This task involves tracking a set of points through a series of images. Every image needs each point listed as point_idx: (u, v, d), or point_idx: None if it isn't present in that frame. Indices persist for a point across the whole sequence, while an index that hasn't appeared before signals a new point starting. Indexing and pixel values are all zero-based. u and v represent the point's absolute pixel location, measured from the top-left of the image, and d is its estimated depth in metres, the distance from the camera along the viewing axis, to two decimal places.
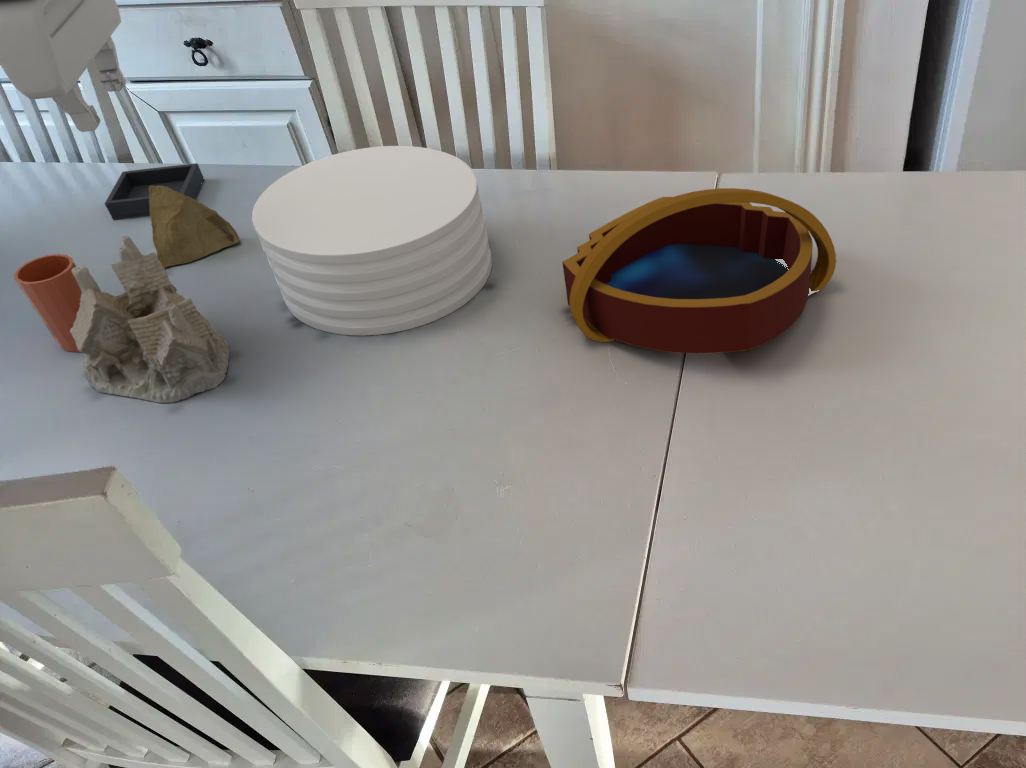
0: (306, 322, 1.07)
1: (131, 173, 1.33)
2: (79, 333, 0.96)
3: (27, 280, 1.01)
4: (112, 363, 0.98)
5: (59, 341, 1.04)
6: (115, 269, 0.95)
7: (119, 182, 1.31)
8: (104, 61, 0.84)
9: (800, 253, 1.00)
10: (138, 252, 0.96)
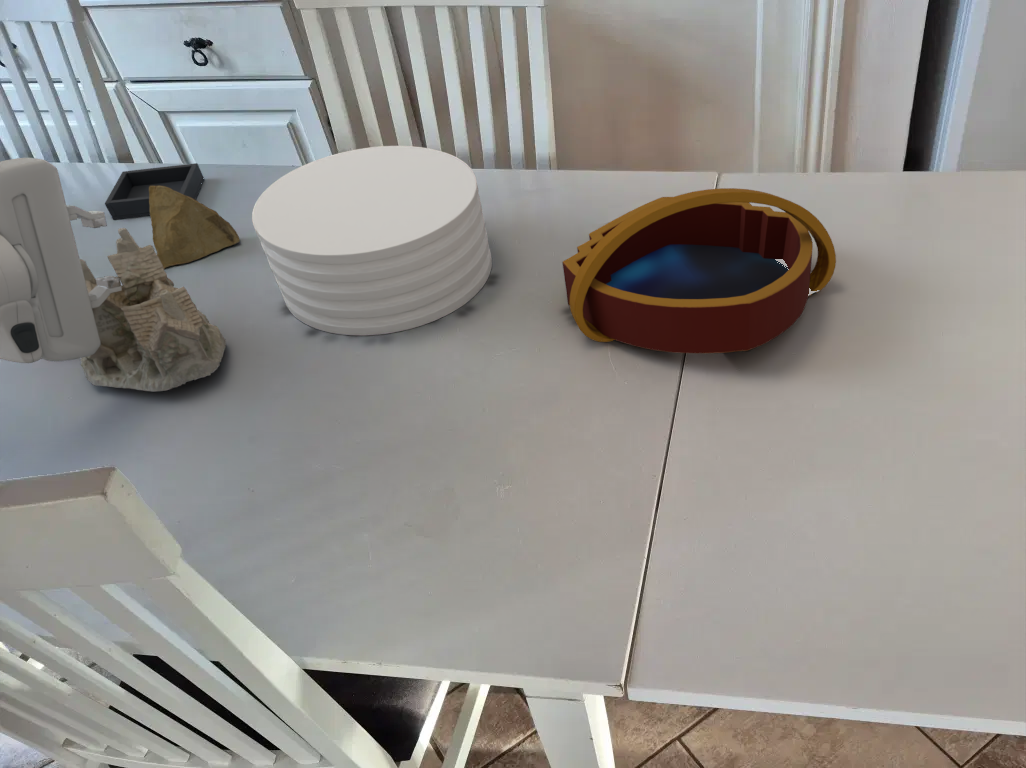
0: (306, 322, 1.07)
1: (131, 173, 1.33)
2: None
3: None
4: (107, 355, 0.97)
5: None
6: (111, 260, 0.96)
7: (119, 182, 1.31)
8: (78, 216, 0.89)
9: (800, 253, 1.00)
10: (134, 244, 0.97)
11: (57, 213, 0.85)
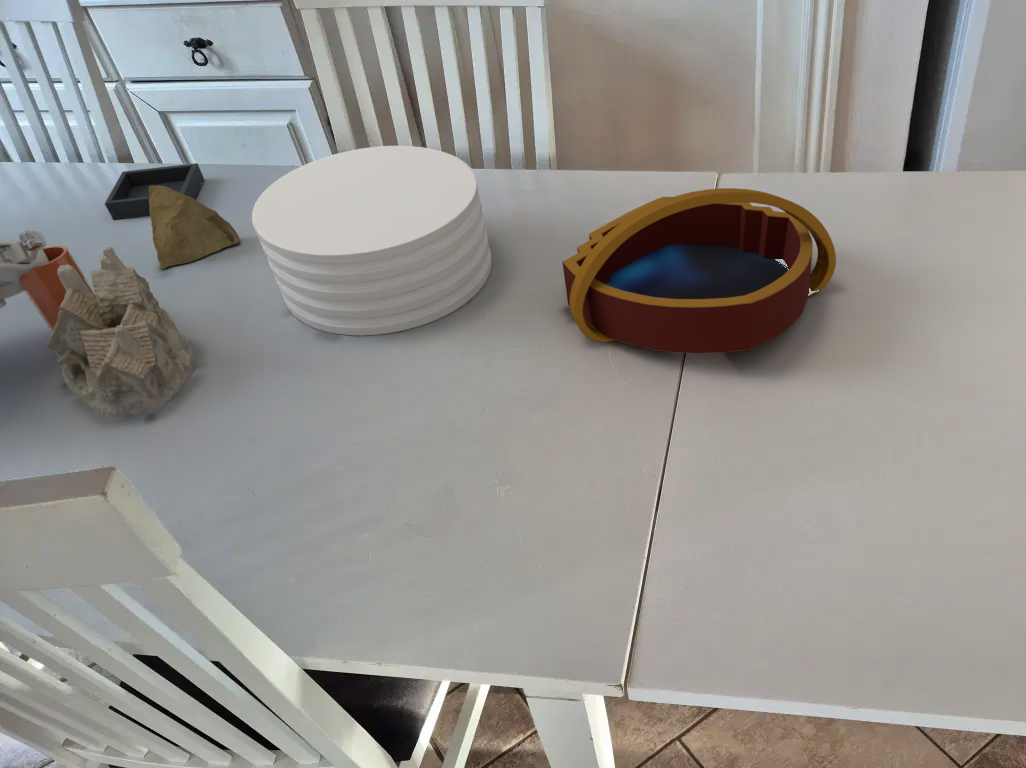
0: (306, 322, 1.07)
1: (131, 173, 1.33)
2: (54, 328, 0.98)
3: None
4: (76, 363, 0.98)
5: None
6: (92, 276, 0.95)
7: (119, 182, 1.31)
8: None
9: (800, 253, 1.00)
10: (116, 264, 0.95)
11: None
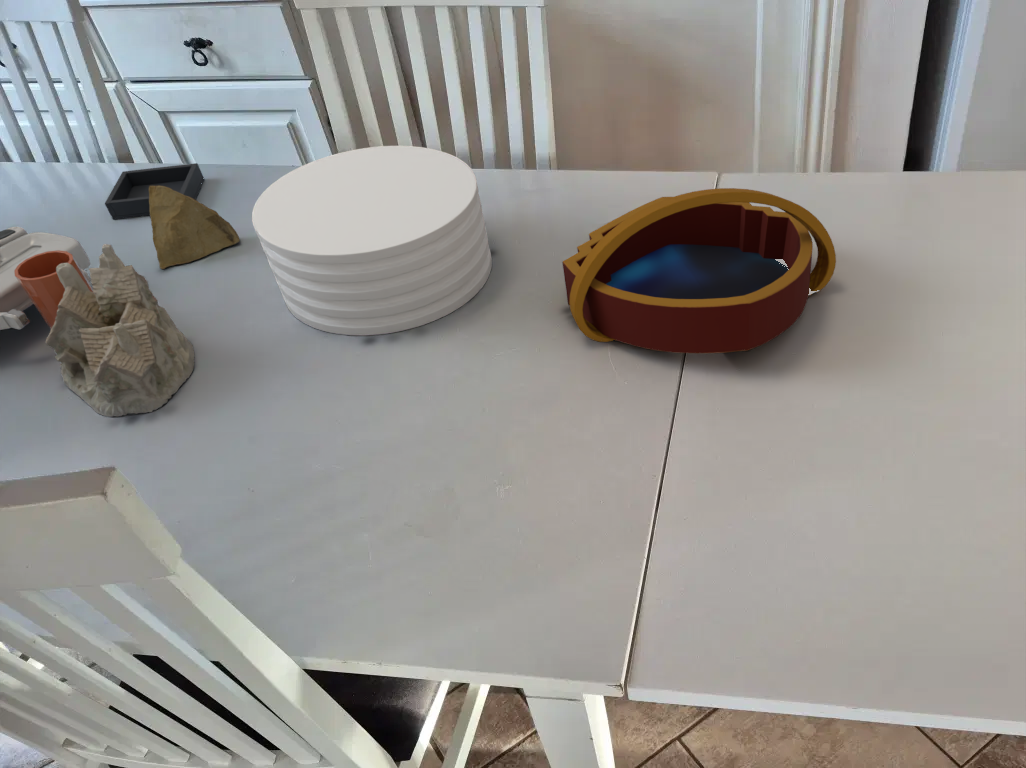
0: (306, 322, 1.07)
1: (131, 173, 1.33)
2: None
3: (27, 276, 1.02)
4: (75, 361, 0.98)
5: None
6: (91, 274, 0.95)
7: (119, 182, 1.31)
8: None
9: (800, 253, 1.00)
10: (115, 262, 0.95)
11: None
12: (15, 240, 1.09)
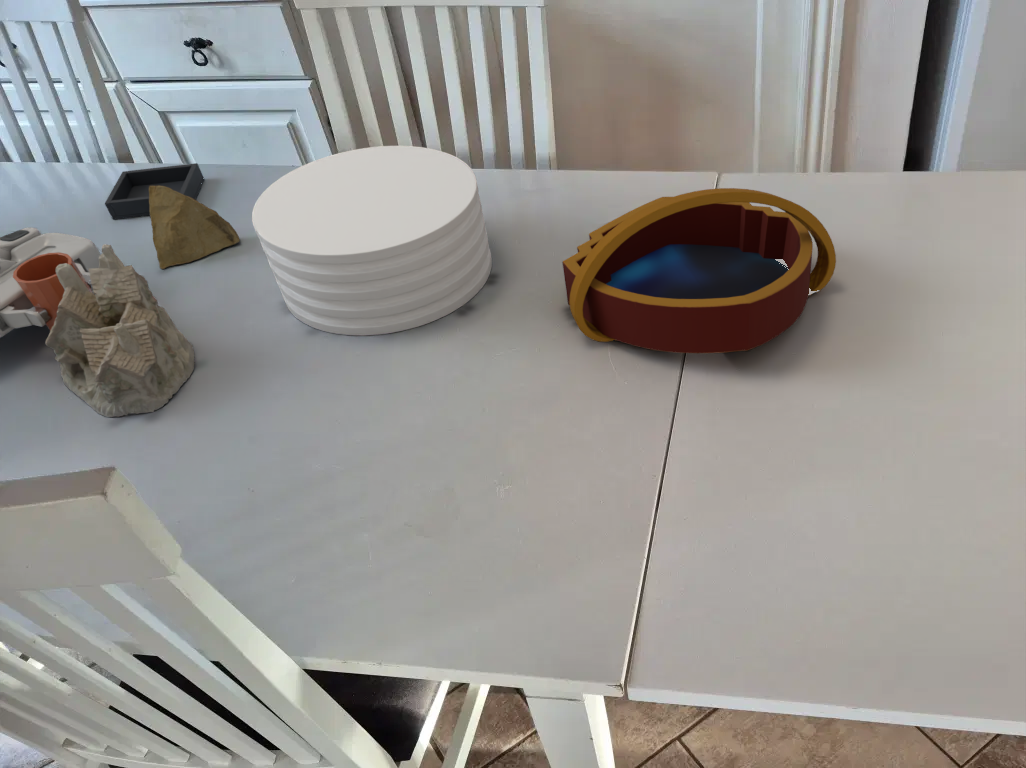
0: (306, 322, 1.07)
1: (131, 173, 1.33)
2: (53, 327, 0.98)
3: (27, 277, 1.01)
4: (75, 362, 0.98)
5: None
6: (91, 275, 0.95)
7: (119, 182, 1.31)
8: None
9: (800, 253, 1.00)
10: (115, 262, 0.95)
11: None
12: (29, 240, 1.08)
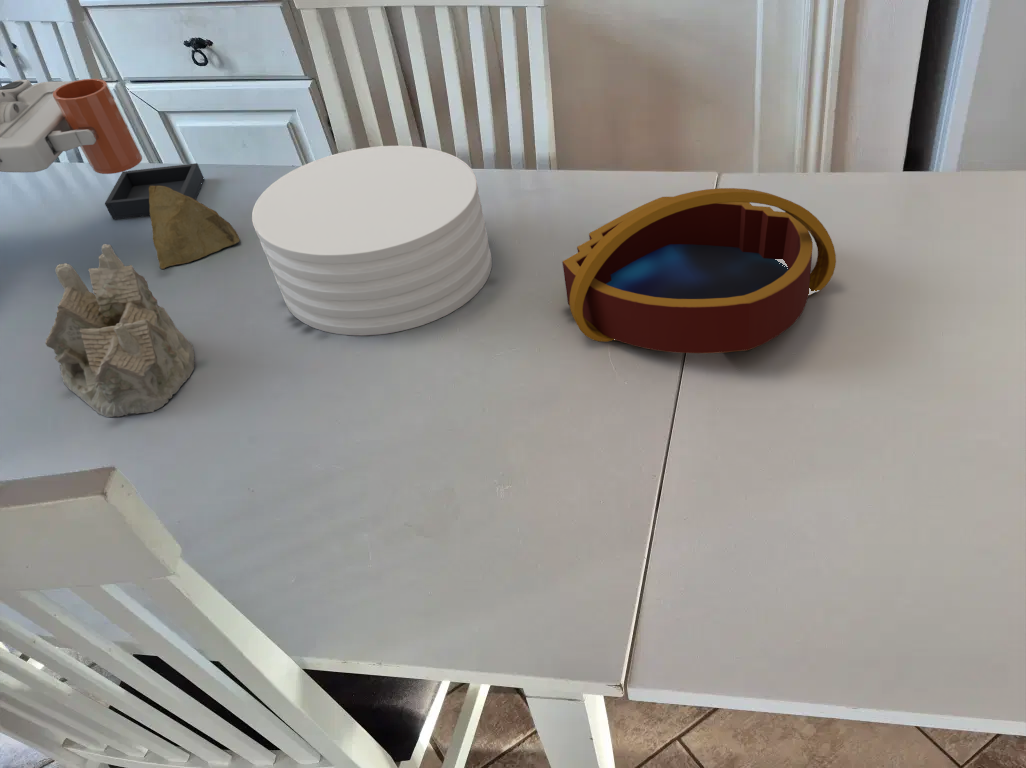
0: (306, 322, 1.07)
1: (131, 173, 1.33)
2: (53, 327, 0.98)
3: None
4: (75, 362, 0.98)
5: (98, 163, 1.12)
6: (91, 274, 0.95)
7: (119, 182, 1.31)
8: None
9: (800, 253, 1.00)
10: (115, 262, 0.95)
11: None
12: (28, 88, 1.14)
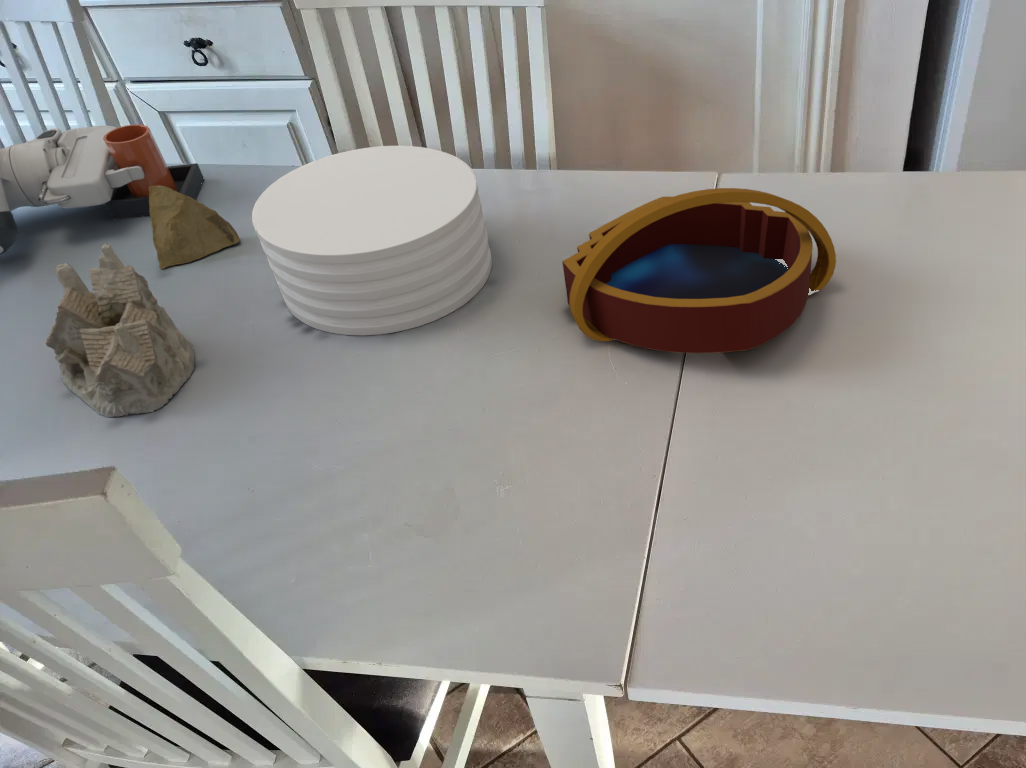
0: (306, 322, 1.07)
1: None
2: (53, 327, 0.98)
3: None
4: (75, 362, 0.98)
5: None
6: (91, 275, 0.95)
7: None
8: None
9: (800, 253, 1.00)
10: (115, 262, 0.95)
11: None
12: (62, 135, 1.28)
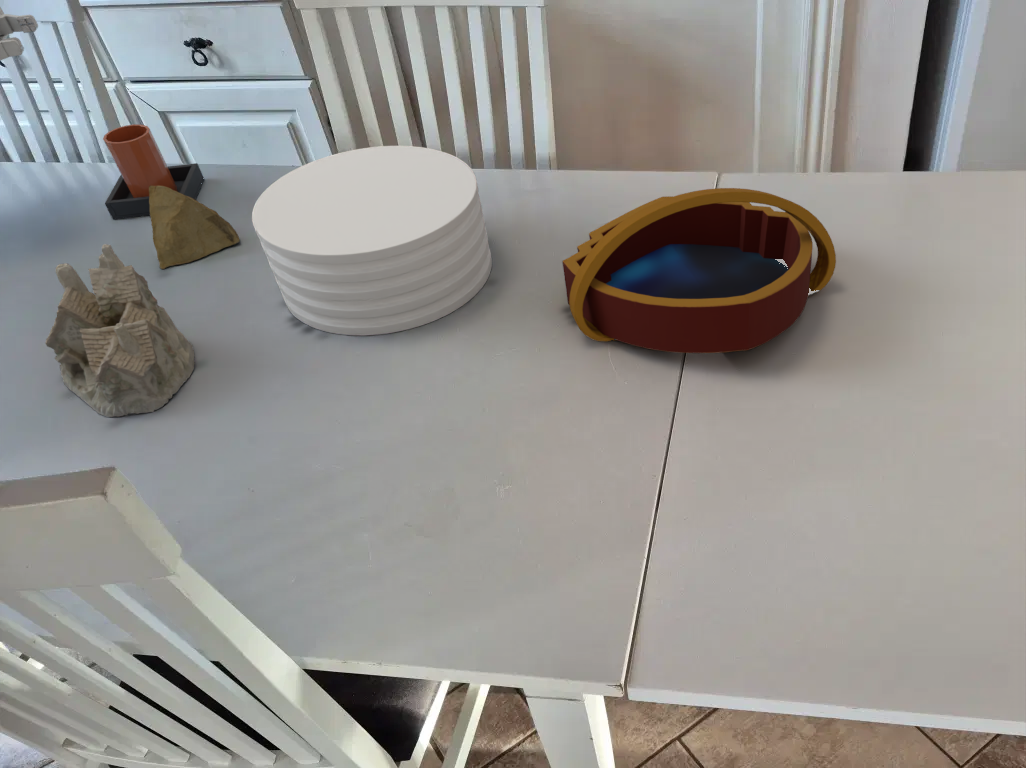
0: (306, 322, 1.07)
1: None
2: (53, 327, 0.98)
3: None
4: (75, 362, 0.98)
5: None
6: (91, 274, 0.95)
7: (119, 182, 1.31)
8: None
9: (800, 253, 1.00)
10: (115, 262, 0.95)
11: None
12: None
